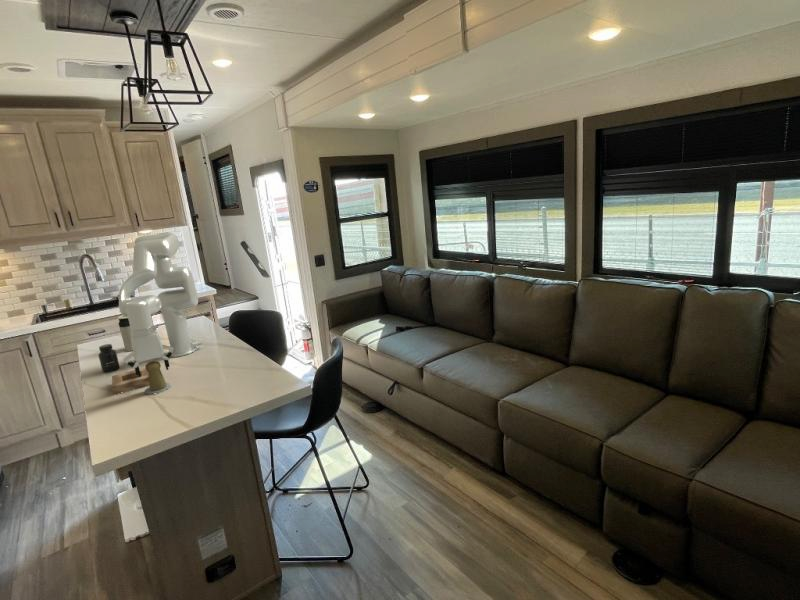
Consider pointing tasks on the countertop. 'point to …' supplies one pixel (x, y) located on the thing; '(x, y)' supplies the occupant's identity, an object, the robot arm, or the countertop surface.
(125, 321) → the travel mug
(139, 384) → the socket ring
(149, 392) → the coaster
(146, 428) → the countertop surface
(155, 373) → the cork
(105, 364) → the supplement bottle
